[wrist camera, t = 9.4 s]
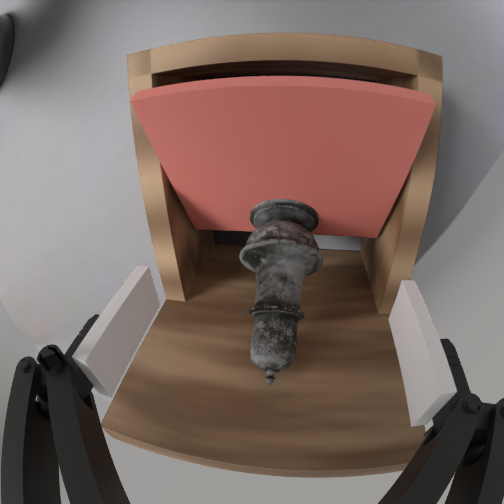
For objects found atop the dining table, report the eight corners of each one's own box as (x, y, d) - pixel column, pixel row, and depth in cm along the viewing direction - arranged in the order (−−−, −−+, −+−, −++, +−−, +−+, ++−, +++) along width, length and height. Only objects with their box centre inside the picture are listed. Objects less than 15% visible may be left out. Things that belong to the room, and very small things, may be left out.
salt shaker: (324, 237, 23) (318, 387, 18) (256, 239, 25) (238, 381, 19) (320, 193, 18) (315, 387, 13) (235, 197, 20) (206, 377, 14)
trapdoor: (137, 91, 13) (130, 101, 12) (429, 93, 10) (435, 104, 10) (198, 219, 25) (195, 229, 24) (375, 227, 23) (376, 238, 22)
